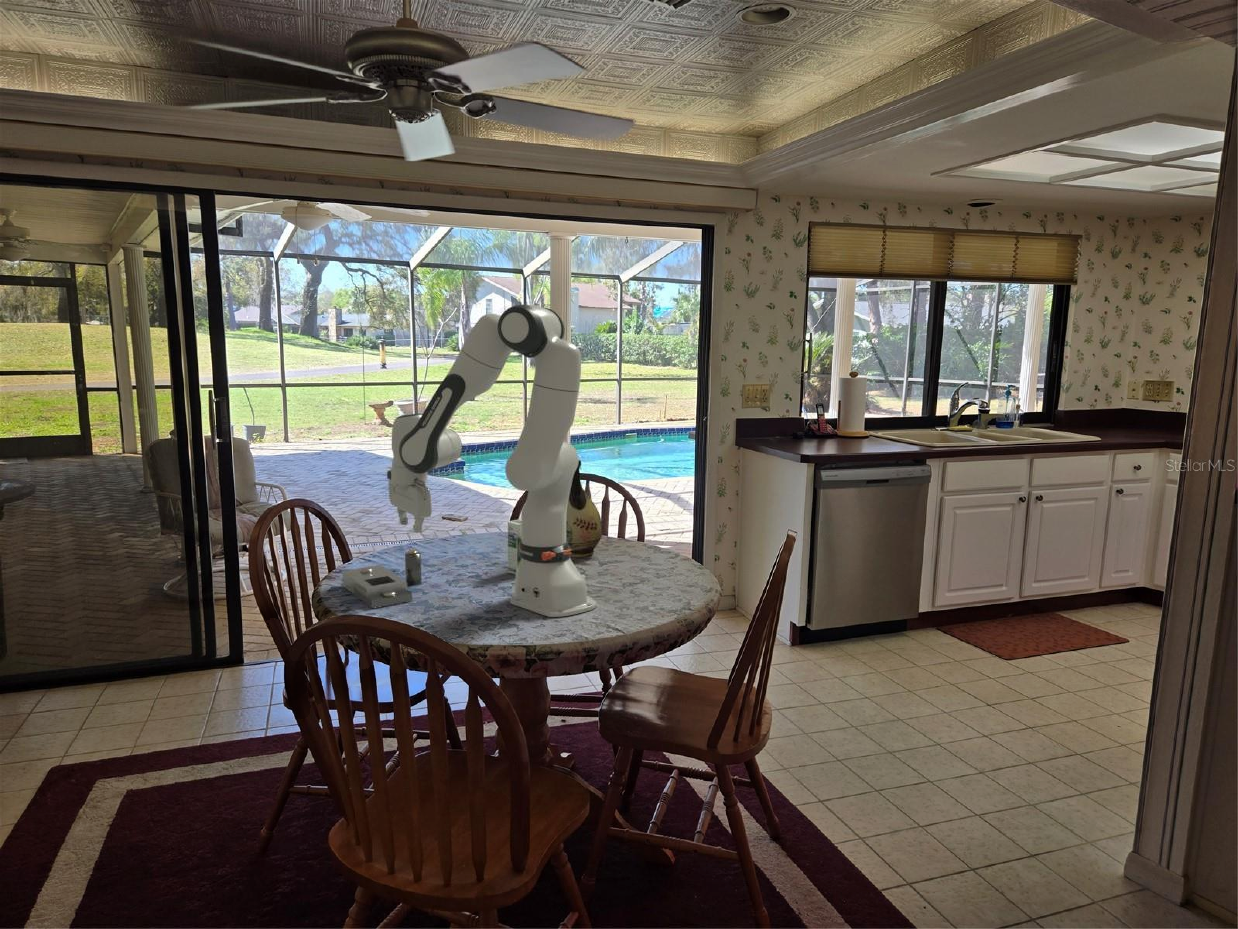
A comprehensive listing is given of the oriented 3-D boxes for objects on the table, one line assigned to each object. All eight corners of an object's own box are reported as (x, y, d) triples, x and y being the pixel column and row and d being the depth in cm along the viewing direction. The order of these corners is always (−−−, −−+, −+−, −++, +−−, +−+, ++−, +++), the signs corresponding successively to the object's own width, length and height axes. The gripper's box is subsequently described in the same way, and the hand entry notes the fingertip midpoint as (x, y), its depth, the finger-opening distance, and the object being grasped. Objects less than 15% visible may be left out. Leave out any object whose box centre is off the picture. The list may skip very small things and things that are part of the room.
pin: (423, 583, 204) (423, 551, 202) (409, 586, 201) (408, 554, 200) (418, 579, 207) (417, 548, 205) (403, 582, 204) (402, 550, 203)
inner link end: (412, 601, 189) (411, 590, 189) (371, 609, 183) (371, 598, 183) (393, 587, 200) (392, 578, 199) (354, 594, 194) (353, 584, 193)
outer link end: (407, 597, 192) (407, 580, 191) (367, 605, 186) (366, 587, 185) (380, 579, 207) (380, 562, 206) (342, 585, 201) (342, 568, 200)
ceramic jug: (551, 548, 241) (550, 452, 236) (600, 547, 242) (600, 452, 238) (551, 562, 224) (551, 460, 220) (604, 561, 226) (605, 460, 221)
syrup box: (506, 572, 214) (506, 521, 212) (523, 568, 218) (523, 518, 216) (519, 577, 210) (518, 524, 208) (536, 572, 214) (536, 521, 212)
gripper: (437, 481, 193) (438, 535, 195) (406, 469, 210) (407, 519, 212) (413, 483, 190) (414, 538, 192) (384, 471, 206) (384, 521, 208)
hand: (410, 528), depth 202 cm, fingers open, 8 cm apart
